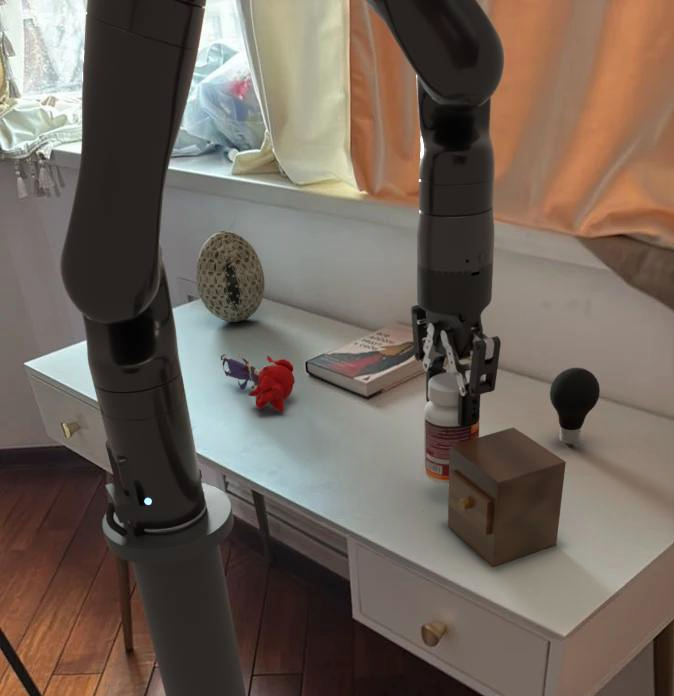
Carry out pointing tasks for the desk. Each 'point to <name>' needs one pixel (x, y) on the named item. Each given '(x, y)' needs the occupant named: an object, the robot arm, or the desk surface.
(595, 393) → the light bulb
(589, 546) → the desk surface
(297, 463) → the desk surface
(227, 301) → the decorative egg
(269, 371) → the figurine
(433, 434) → the pill bottle
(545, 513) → the box
